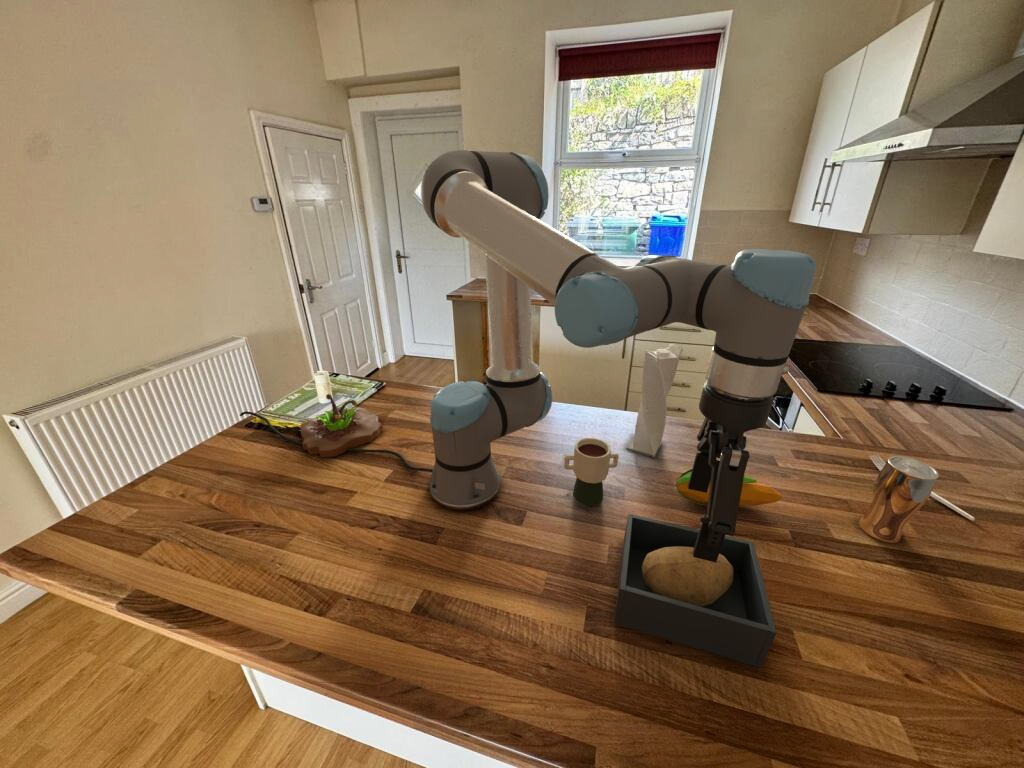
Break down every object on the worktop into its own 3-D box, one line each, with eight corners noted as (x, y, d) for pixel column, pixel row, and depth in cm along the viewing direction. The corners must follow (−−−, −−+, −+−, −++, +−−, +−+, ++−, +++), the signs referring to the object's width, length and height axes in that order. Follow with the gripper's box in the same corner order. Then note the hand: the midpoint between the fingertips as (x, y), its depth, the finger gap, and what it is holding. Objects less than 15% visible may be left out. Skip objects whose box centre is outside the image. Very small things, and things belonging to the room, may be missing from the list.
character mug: (608, 486, 88) (614, 436, 82) (618, 509, 82) (625, 456, 76) (559, 488, 87) (562, 438, 82) (565, 511, 81) (568, 459, 75)
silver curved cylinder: (892, 522, 78) (926, 459, 72) (911, 549, 72) (950, 483, 66) (849, 513, 80) (879, 451, 74) (864, 539, 74) (898, 474, 68)
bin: (613, 623, 60) (619, 588, 57) (623, 544, 73) (628, 513, 70) (761, 668, 54) (777, 633, 51) (742, 574, 68) (753, 541, 64)
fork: (966, 523, 78) (971, 516, 77) (865, 462, 95) (868, 455, 95) (979, 521, 78) (983, 513, 78) (876, 460, 96) (879, 454, 95)
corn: (676, 457, 85) (779, 466, 81) (670, 484, 88) (768, 494, 85) (683, 481, 78) (795, 493, 75) (676, 509, 82) (782, 521, 79)
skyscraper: (667, 445, 102) (687, 341, 90) (659, 462, 96) (680, 352, 84) (634, 435, 106) (649, 335, 94) (624, 451, 100) (639, 345, 88)
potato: (742, 618, 60) (756, 582, 57) (651, 627, 59) (660, 590, 55) (707, 564, 69) (717, 529, 65) (628, 571, 68) (634, 536, 64)
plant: (361, 407, 120) (354, 373, 115) (392, 433, 107) (386, 396, 102) (289, 432, 108) (279, 395, 103) (315, 465, 95) (304, 424, 90)
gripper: (807, 452, 36) (744, 605, 45) (754, 354, 57) (719, 472, 67) (715, 437, 38) (674, 586, 48) (697, 347, 59) (671, 463, 69)
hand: (700, 520), depth 57 cm, fingers open, 13 cm apart
